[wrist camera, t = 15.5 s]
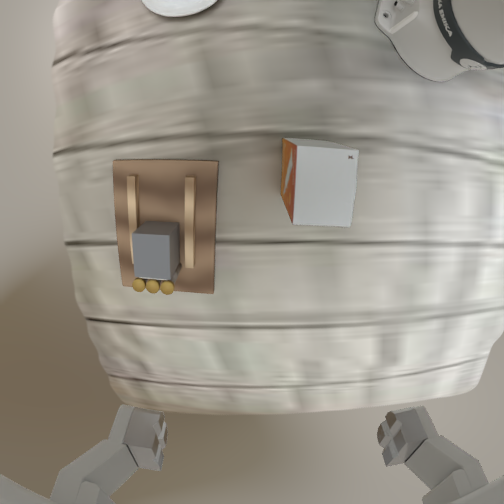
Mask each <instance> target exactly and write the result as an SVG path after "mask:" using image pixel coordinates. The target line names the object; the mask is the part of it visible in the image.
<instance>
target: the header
mask: <svg viewBox="0 0 504 504" xmlns="http://www.w3.org/2000/svg"><path fill="white" fill-rule="evenodd" d="M217 181H218V161H208V160H171V159H134V160H114V161H113V184H114V204H115V219H116V232H117V242H118V252H119V261H120V269H121V276H122V284H123V286H128V287H133V289H134V290H135V291H137V292H142V291H143V290H144V289H145V288H146V289H147V290H148V291H149V292H150V293H157V292H158V290H161V291H162V293H164V294H166V295H169V294H172V293H173V291H181V292H194V293H207V294H213V293H214V265H215V230H216V203H217ZM145 221H159V222H179V223H180V263H179V264H178V266H177V268H176V270H175V272H174V274H173V276H172V278H171V280H158V279H147V278H139V277H135V274H134V261H133V247H132V233H133V232H134V231H135V230H136V229H137V228H138V227H140V226H141V225H142V224H143V223H144V222H145Z"/></svg>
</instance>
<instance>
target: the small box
mask: <svg viewBox="0 0 504 504" xmlns="http://www.w3.org/2000/svg"><path fill="white" fill-rule="evenodd" d="M282 145H283V152H282V179H281V196H282V199H283V201H284V204H285V206H286V209H287V211H288V214H289V216H290V219H291V222H292V224H293V225H309V226H331V227H351V223H352V217H353V209H354V202H355V195H356V188H357V171H358V157H359V150H358V149H355V148H351V147H348V146H344V145H341V144H338V143H335V142H330V141H324V140H312V139H297V138H282Z"/></svg>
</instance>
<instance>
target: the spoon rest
mask: <svg viewBox="0 0 504 504" xmlns="http://www.w3.org/2000/svg"><path fill="white" fill-rule="evenodd" d="M216 1H217V0H142V2H143V4H144V5H145V6H146V7H147V8H148V9H149V10H150V11H152V12H154V13H156V14H158V15H162V16H166V17H182V16H188V15H192V14H196V13H198V12H201V11H203V10H205V9H207V8H208V7H210V6H212V5H213V4H214V3H215V2H216Z"/></svg>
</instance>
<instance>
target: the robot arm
mask: <svg viewBox="0 0 504 504" xmlns="http://www.w3.org/2000/svg"><path fill="white" fill-rule="evenodd" d="M383 14H384V15H386V17H387V18H385V17H384V16H383ZM375 23H376V25H377V26H378V27H379V29H380V30H381V31H383V32H384V33H385V34H386V35H387V36H388V37H389V38H390V39H391V41H392V43H393V44H394V46H395V48H396V50H397V52H398V53H399V55H400V56H401V57H402V59H403V60H404V61H405V62H406V63H407V65H408V66H409V67H410V68H412V69H413V70H414V71H415V72H417V73H418V74H419V75H421V76H423V77H425V78H427V79H429V80H432V81H438V82H444V81H448V80H451V79H453V78H454V77H456V76H457V75H458V74H460V73H462V72H465V71H468V70H486V69H495V68H503V67H504V0H379V3H378V8H377V12H376V16H375ZM385 417H386V420H385V421H384V422H382V423H381V424H380V426H379V428H378V432H377V438H378V442H379V445H380V446H382V447H383V448H384V450H383V453H382V455H383V458H384V461H385V465H386V466H392V465H397V464H401V463H405V465H406V466H407V467H408V468H409V469H410V470H411V471H412V472H413V473H414V474H415V475H416V476H417V477H418V478H419V479H420V480H421V481H423V482H424V483H425V484H426V485H427V486H428V487H429V488H430V489H431V491H430V492H428V493H427V494H426V495H425V496H424V497H423V498H422V501H423V504H504V475H503V476H501V477H500V478H498V479H496V480H494V481H492V482H491V483H488V481H487V478H486V476H485V474H484V471H483V469H482V467H481V465H480V463H479V460H477V459H476V458H474V457H473V456H471V455H470V454H468V453H467V452H465V451H464V450H462V449H461V448H459V447H458V446H457V445H455V444H454V443H452V442H451V441H449V440H448V439H446V438H445V437H444V436H442V435H440V436H439V435H438V433H437V431H436V429H435V426H434V424H433V423H432V420H431V418H430V416H429V414H428V412H427V410H426V408H425V407H424V406H417V407H412V408H406V409H400V410H395V411H390V412H388V413H387V415H386V416H385ZM164 418H165V416H164V413H163V412H161V411H155V410H149V409H143V408H138V407H133V406H128V405H121V406H120V407H119V409H118V412H117V415H116V418H115V421H114V423H113V426H112V429H111V432H110V435H109V438H108V440H102V441H101V442H100V443H98V444H97V445H96V446H94V447H93V448H91V449H90V450H89V451H87V452H86V453H85V454H83V455H82V456H80V457H79V458H77V459H76V460H75V461H73V462H72V463H70V464H69V465H67V466H66V467H64V468H63V469H61V470H60V472H59V474H58V477H57V480H56V483H55V485H54V488H53V491H52V494H51V497H50V500H49V499H47V498H45V497H43V496H41V495H38V494H36V493H35V492H32V491H30V490H28V489H27V488H25V487H23V486H21V485H19V484H17V483H15V482H13V481H12V480H10V479H8V478H6V477H5V476H3V475H1V474H0V504H115V503H114V502H113V501H112V500H111V499H110V498H109V496H110V495H111V494H112V493H114V492H115V491H116V490H117V489H118V488H119V487H120V486H121V485H122V484H123V483H124V482H125V481H126V480H127V479H128V478H129V477H130V476H132V475H133V473H135V471H136V470H138V467H140V468H145V469H151V470H158V471H161V469H162V463H163V459H164V455H163V452H162V449H163V448H165V447H166V443H167V433H168V431H167V424H166V423H164Z"/></svg>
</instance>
